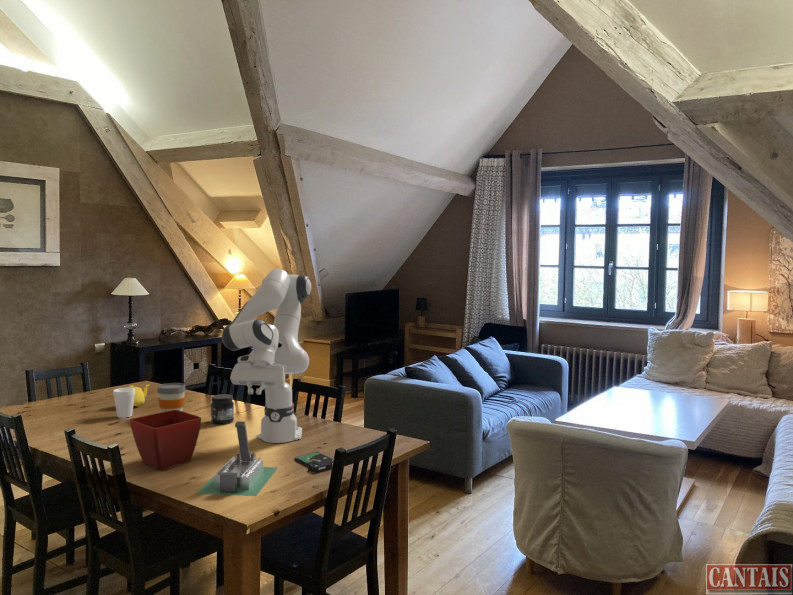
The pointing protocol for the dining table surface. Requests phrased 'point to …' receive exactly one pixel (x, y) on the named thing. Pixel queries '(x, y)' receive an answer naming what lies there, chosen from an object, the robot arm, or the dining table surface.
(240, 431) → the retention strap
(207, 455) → the dining table surface
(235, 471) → the heat sink
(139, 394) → the teapot
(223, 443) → the dining table surface
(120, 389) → the foam cup
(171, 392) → the reusable coffee cup
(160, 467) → the plant pot
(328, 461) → the disk drive
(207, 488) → the circuit board
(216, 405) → the supplement container
